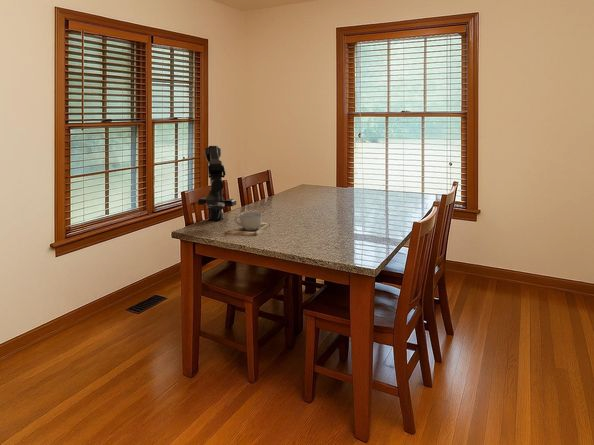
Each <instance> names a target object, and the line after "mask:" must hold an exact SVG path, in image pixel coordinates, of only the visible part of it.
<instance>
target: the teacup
mask: <svg viewBox="0 0 594 445" xmlns="http://www.w3.org/2000/svg"><path fill="white" fill-rule="evenodd" d="M238 218H239V219H240V220H239V221H238ZM262 218H263V214H262V212H258V211H249V210H248V211H243V212H240V214H239V215H236V216H234V218H233V219H234V222H235V223H236V224H237V225H239V226H240V227H242V228H243V229H244V231H245V230H246V231H258V230H259V229H260V227H262V226H261V223H263V222H262ZM240 222H241V223H240Z"/></svg>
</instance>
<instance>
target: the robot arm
mask: <svg viewBox="0 0 594 445" xmlns="http://www.w3.org/2000/svg"><path fill="white" fill-rule="evenodd" d="M221 152H222V150H221V148H220V147H219V146H218V145H208V146H207V147H206V148H204V157H205V161H206V162H207V164H208V165H207V174H208V175H207V176H208V178H209V181H210V182H209V184H210V190H209V193H208V195H207V196H206V197H205V196H204V197H201V198H198V199H197V205H201V206H203V205H205V204H206V209H207V210H208V219H207V221H211V222H212V221H213V222H219V221H222V220H223V219H224V216H223V210H224V209H225V207H234V206H237V201H236V199H235V198H228V199H226V200H224V197H223V192H224V181H223V178H225V176H226V167H225V165H223V162H222V160H220V157H222V155H221V154H222V153H221Z"/></svg>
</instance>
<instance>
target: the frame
mask: <svg viewBox="0 0 594 445" xmlns="http://www.w3.org/2000/svg"><path fill="white" fill-rule="evenodd" d="M239 223H241V221H239ZM270 226H271V223H270V222H268V223H267V222H261V226H260V227H261V228H258V229H257V230H255V231H245V230H243V231H242V230H231V229H230V230H229V229H225V230H224V233H225V234H233V235H245V236H246V235H248V236H258V235H260V234H261V233H262V232H264V231H265V230H267V229H268V228H269V227H270Z"/></svg>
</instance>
